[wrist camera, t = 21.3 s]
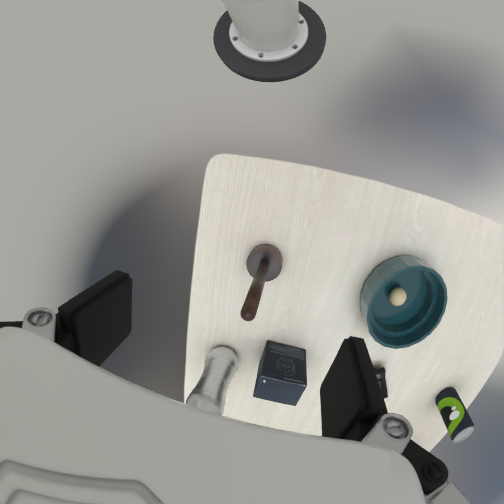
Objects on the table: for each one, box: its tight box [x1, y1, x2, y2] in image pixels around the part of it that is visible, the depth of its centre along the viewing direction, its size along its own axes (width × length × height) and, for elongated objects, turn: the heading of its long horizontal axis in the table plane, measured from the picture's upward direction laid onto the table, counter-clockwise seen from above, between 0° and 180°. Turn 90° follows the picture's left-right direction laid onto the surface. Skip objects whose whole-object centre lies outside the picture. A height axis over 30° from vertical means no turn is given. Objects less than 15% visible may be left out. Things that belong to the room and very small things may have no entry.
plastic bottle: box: [186, 347, 238, 415], centre depth 43 cm, size 6×7×20 cm
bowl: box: [360, 256, 447, 349], centre depth 41 cm, size 15×15×6 cm
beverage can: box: [436, 388, 474, 443], centre depth 42 cm, size 6×6×15 cm
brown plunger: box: [241, 244, 282, 321], centre depth 37 cm, size 6×6×19 cm
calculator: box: [375, 367, 388, 398], centre depth 49 cm, size 9×12×3 cm
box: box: [253, 341, 307, 406], centre depth 46 cm, size 8×6×11 cm
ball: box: [389, 287, 406, 306], centre depth 42 cm, size 3×3×3 cm
